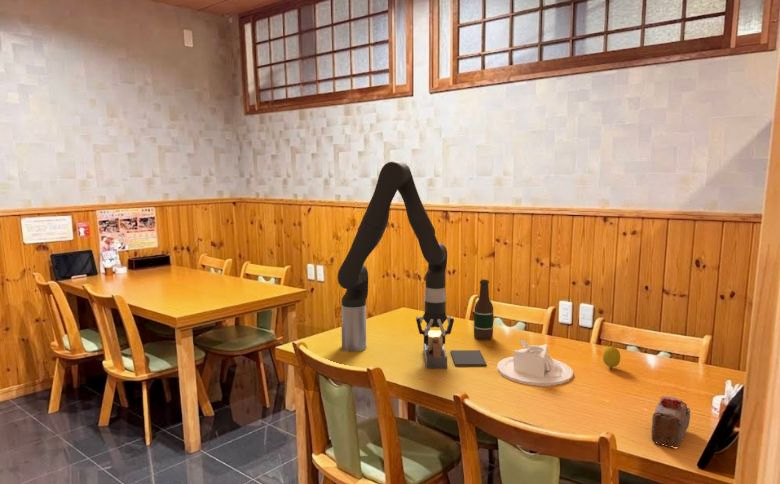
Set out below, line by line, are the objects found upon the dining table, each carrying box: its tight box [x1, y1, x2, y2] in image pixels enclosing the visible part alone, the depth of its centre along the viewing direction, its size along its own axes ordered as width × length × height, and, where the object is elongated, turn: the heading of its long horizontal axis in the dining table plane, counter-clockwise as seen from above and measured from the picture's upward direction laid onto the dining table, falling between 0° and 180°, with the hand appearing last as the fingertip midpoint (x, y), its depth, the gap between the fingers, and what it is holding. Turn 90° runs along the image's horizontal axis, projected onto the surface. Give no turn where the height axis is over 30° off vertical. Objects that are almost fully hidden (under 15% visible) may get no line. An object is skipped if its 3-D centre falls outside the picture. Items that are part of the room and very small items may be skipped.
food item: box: [651, 396, 691, 449], centre depth 134 cm, size 14×8×10 cm, turn 146°
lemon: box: [602, 345, 621, 369], centre depth 179 cm, size 6×6×8 cm
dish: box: [497, 339, 574, 387], centre depth 177 cm, size 25×25×11 cm
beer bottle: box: [473, 279, 494, 341], centre depth 212 cm, size 8×8×24 cm
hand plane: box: [423, 343, 448, 370], centre depth 189 cm, size 18×7×8 cm, turn 0°
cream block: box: [428, 330, 444, 350], centre depth 188 cm, size 5×8×4 cm, turn 0°
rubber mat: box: [449, 349, 488, 367], centre depth 189 cm, size 11×14×1 cm
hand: (434, 344), depth 189 cm, fingers closed on cream block, 5 cm apart
